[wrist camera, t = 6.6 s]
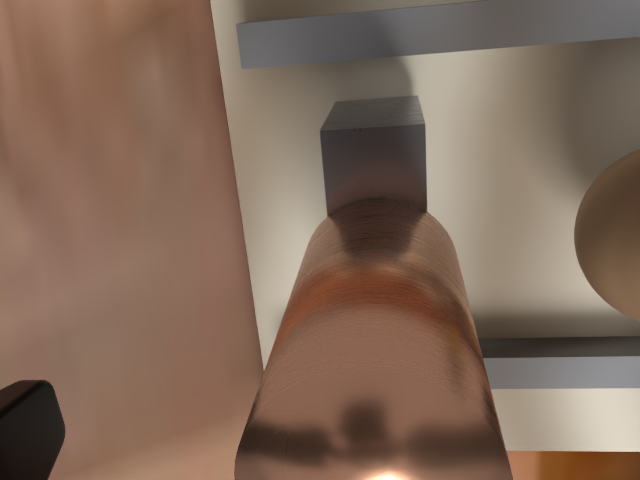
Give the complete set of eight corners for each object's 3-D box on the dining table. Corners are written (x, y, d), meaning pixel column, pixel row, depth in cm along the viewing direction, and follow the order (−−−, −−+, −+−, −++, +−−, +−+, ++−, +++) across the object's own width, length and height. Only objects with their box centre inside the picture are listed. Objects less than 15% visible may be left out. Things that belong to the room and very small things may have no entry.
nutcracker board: (916, -192, 13) (1378, -359, 7) (773, 419, 19) (953, 618, 13) (212, -105, 15) (90, -173, 9) (283, 418, 21) (238, 589, 15)
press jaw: (443, 93, 14) (523, 245, 6) (446, 313, 17) (506, 669, 8) (311, 103, 15) (193, 257, 6) (331, 316, 17) (265, 656, 8)
